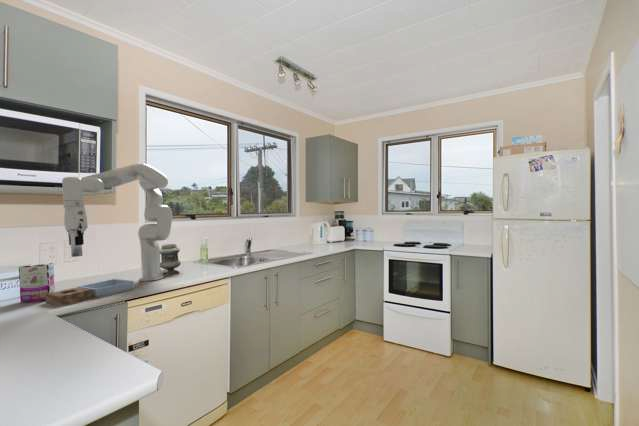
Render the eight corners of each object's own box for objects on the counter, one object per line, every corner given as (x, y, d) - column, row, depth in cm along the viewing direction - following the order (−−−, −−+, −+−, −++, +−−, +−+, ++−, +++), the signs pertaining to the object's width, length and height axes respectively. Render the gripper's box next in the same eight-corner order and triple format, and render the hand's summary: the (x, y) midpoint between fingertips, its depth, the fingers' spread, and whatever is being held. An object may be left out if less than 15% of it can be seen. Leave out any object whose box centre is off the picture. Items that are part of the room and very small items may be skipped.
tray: (114, 286, 169) (114, 278, 169) (133, 288, 162) (133, 280, 162) (77, 294, 153) (77, 286, 153) (96, 298, 146) (96, 289, 146)
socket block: (76, 295, 151) (76, 287, 151) (91, 298, 146) (91, 289, 146) (45, 303, 140) (45, 293, 140) (60, 305, 135) (60, 296, 135)
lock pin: (79, 255, 149) (77, 229, 149) (84, 255, 147) (82, 229, 147) (69, 256, 145) (68, 230, 145) (74, 256, 144) (72, 230, 143)
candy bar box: (55, 297, 149) (54, 262, 149) (49, 300, 144) (48, 264, 144) (26, 300, 146) (25, 264, 146) (19, 303, 141) (18, 266, 141)
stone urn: (160, 272, 204) (158, 244, 204) (180, 270, 209) (179, 242, 209) (159, 275, 193) (158, 246, 193) (181, 273, 198) (180, 244, 198)
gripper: (93, 203, 145) (96, 244, 146) (73, 204, 153) (75, 243, 153) (75, 204, 139) (77, 246, 139) (54, 205, 146) (57, 245, 147)
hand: (76, 244), depth 146 cm, fingers closed on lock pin, 4 cm apart
